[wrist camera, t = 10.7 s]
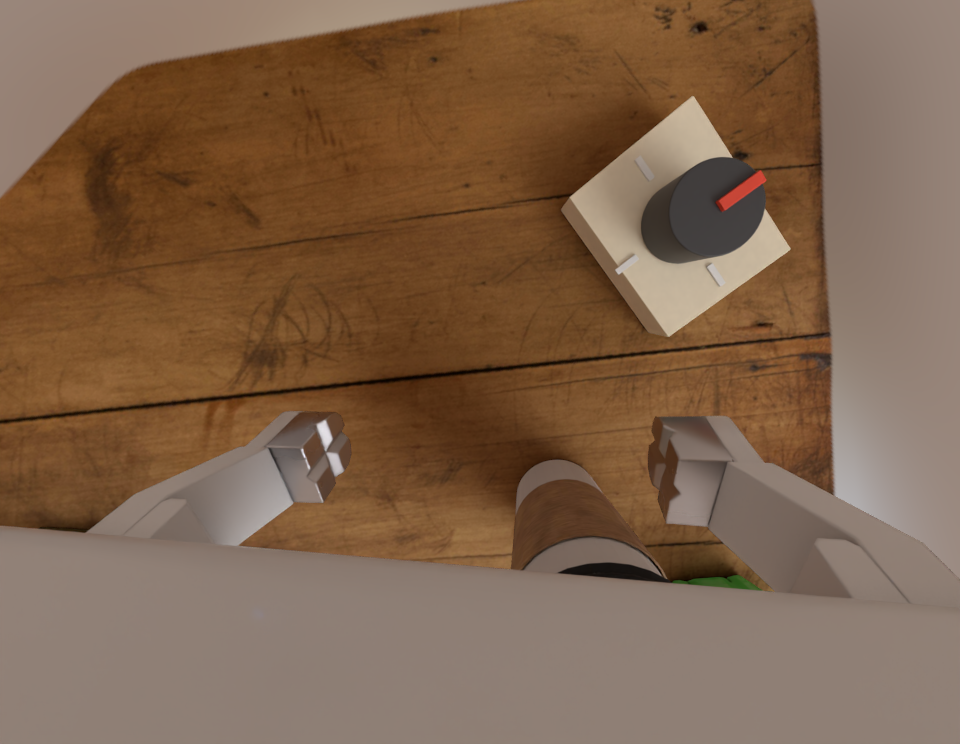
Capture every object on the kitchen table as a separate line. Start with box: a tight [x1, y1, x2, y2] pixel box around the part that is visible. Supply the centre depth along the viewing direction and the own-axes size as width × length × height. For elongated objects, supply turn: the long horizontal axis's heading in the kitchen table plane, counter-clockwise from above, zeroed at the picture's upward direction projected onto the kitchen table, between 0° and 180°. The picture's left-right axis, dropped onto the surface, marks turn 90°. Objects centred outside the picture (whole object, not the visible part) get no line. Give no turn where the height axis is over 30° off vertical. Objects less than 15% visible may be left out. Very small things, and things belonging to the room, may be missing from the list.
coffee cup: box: [511, 460, 672, 583], centre depth 20 cm, size 8×8×15 cm
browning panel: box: [561, 96, 790, 337], centre depth 22 cm, size 10×9×3 cm
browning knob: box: [641, 157, 766, 264], centre depth 19 cm, size 4×4×4 cm
